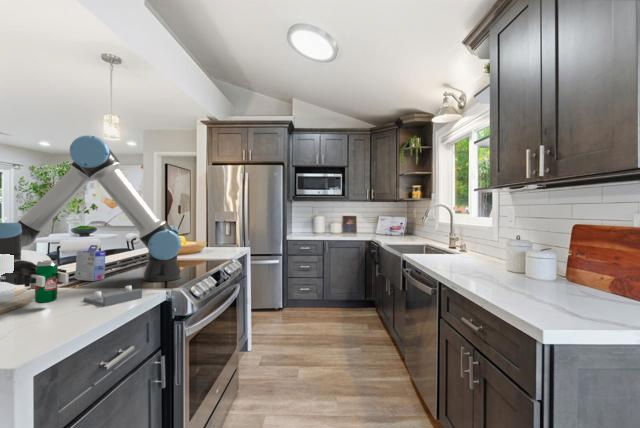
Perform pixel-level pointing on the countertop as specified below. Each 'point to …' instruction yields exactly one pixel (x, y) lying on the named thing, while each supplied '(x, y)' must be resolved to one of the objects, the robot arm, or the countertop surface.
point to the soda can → (46, 281)
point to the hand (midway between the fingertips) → (55, 280)
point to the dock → (114, 297)
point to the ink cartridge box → (90, 264)
